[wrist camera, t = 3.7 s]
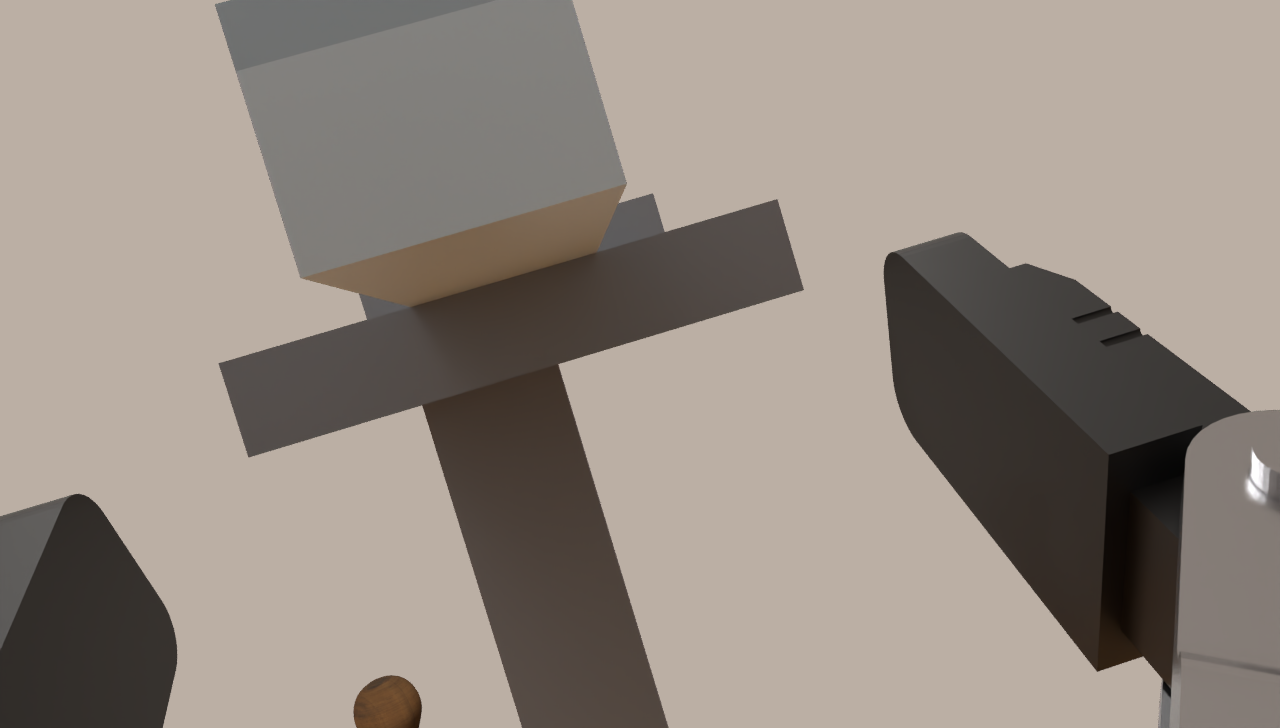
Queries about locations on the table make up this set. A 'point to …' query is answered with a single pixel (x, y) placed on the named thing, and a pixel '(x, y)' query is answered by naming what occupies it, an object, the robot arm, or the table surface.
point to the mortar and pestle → (388, 704)
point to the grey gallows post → (527, 431)
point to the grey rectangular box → (426, 138)
